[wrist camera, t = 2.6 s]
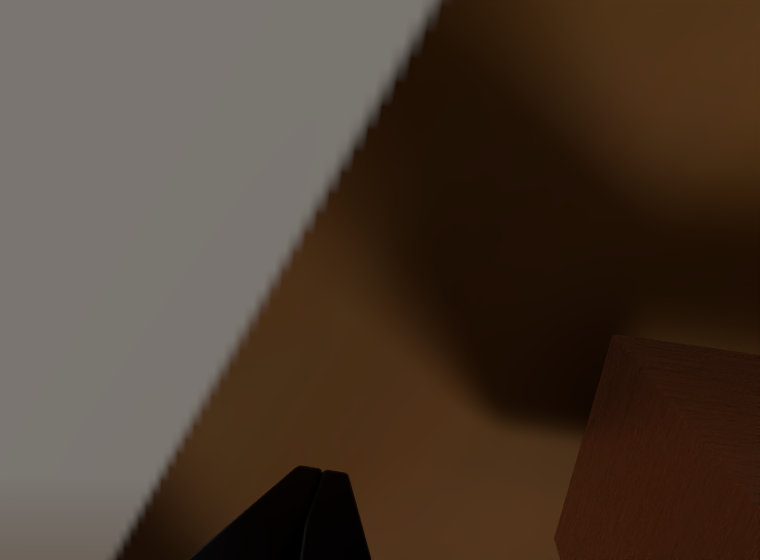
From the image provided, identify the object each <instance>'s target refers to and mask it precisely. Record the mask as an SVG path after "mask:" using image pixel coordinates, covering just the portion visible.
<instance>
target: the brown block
mask: <svg viewBox="0 0 760 560" xmlns="http://www.w3.org/2000/svg"><path fill="white" fill-rule="evenodd" d="M554 539H555V543H556V546H557V550H558V553H559V556H560V560H760V355H756V354H749V353H742V352H735V351H728V350H721V349H714V348H707V347H700V346H693V345H686V344H679V343H673V342H666V341H659V340H652V339H645V338H638V337H631V336H624V335H617V334H612V338H611V341H610V345H609V348H608V352H607V355H606V359H605V362H604V366H603V369H602V373H601V376H600V380H599V383H598V387H597V390H596V394H595V397H594V401H593V404H592V408H591V411H590V415H589V418H588V422H587V425H586V429H585V432H584V436H583V439H582V443H581V446H580V450H579V453H578V457H577V460H576V464H575V467H574V471H573V474H572V478H571V481H570V485H569V488H568V492H567V495H566V499H565V502H564V506H563V509H562V513H561V516H560V520H559V523H558V527H557V530H556V534H555V537H554Z"/></svg>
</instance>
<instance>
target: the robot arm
mask: <svg viewBox="0 0 760 560" xmlns="http://www.w3.org/2000/svg"><path fill="white" fill-rule="evenodd" d="M188 560H371V556H370V552H369V549H368V545H367V541H366V538H365V534H364V530H363V526H362V523H361V519H360V515H359V512H358V508H357V504H356V501H355V497H354V493H353V490H352V486H351V482H350V479H349V476H348V474H347V473H344V472H338V471H332V470H325V471H324V472H323V473H322V470H321V469H319V468H314V467H308V466H298V467H296V468H295V469H293V470H292V471H291V472H290V473H289V474H288V475H286V476H285V477H284V478H283V479H282V480H280V481H279V482H278V483H277V484H276V485H275V486H273V487H272V488H271V489H270V490H269V491H268V492H266V493H265V494H264V495H263V496H262V497H261V498H259V499H258V500H257V501H256V502H255V503H253V504H252V505H251V506H250V507H249V508H248V509H246V510H245V511H244V512H243V513H242V514H241V515H239V516H238V517H237V518H236V519H235V520H234V521H232V522H231V523H230V524H229V525H228V526H226V527H225V528H224V529H223V530H222V531H221V532H219V533H218V534H217V535H216V536H215V537H214V538H212V539H211V540H210V541H209V542H208V543H207V544H205V545H204V546H203V547H202V548H201V549H199V550H198V551H197V552H196V553H195V554H194V555H192V556H191V557H190V558H189V559H188Z"/></svg>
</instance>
